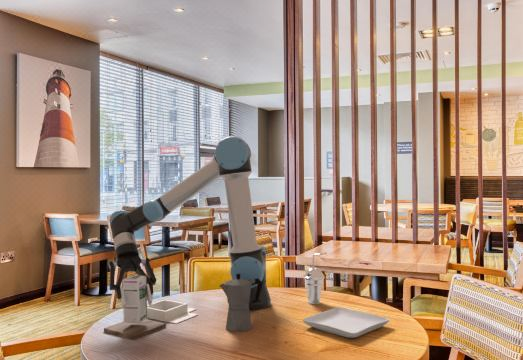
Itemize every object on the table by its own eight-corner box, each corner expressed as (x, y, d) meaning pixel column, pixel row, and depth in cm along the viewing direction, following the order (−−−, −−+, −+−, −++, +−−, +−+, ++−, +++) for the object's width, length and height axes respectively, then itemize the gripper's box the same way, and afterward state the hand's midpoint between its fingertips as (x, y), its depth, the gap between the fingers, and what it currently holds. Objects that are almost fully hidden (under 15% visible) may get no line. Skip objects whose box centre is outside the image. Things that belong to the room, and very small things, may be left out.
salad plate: (338, 314, 171) (338, 305, 171) (391, 328, 156) (391, 317, 156) (300, 328, 156) (300, 318, 156) (354, 345, 141) (354, 333, 141)
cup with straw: (312, 298, 192) (311, 249, 192) (330, 302, 186) (329, 251, 186) (298, 302, 186) (298, 252, 186) (317, 307, 180) (316, 254, 180)
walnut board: (165, 327, 158) (165, 323, 158) (134, 339, 146) (134, 335, 146) (136, 320, 165) (136, 317, 165) (103, 332, 154) (103, 328, 154)
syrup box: (139, 323, 152) (139, 279, 152) (122, 322, 154) (122, 278, 153) (147, 318, 158) (147, 275, 158) (131, 317, 159) (130, 274, 159)
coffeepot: (225, 334, 150) (224, 278, 150) (215, 326, 158) (214, 272, 158) (268, 327, 156) (268, 273, 156) (257, 319, 165) (256, 268, 165)
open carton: (206, 311, 175) (206, 302, 175) (176, 323, 161) (176, 313, 161) (173, 305, 184) (173, 296, 184) (141, 316, 170) (141, 306, 170)
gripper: (153, 252, 174) (166, 306, 160) (94, 257, 164) (103, 315, 150) (156, 239, 169) (170, 294, 155) (96, 244, 159) (105, 302, 145)
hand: (137, 304), depth 153 cm, fingers closed on syrup box, 8 cm apart
